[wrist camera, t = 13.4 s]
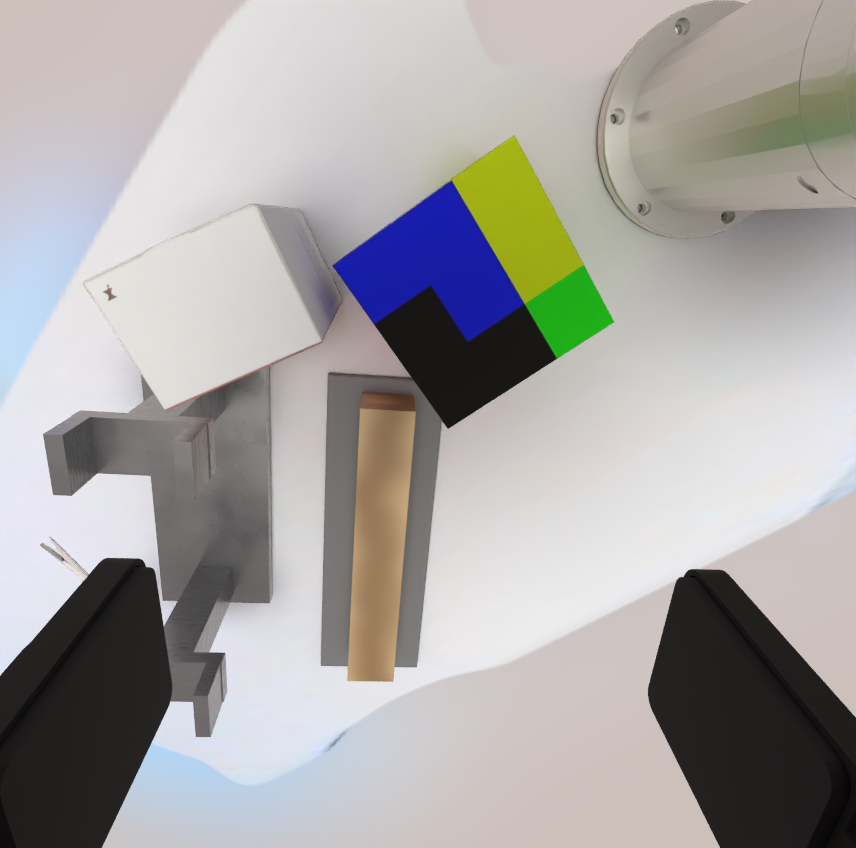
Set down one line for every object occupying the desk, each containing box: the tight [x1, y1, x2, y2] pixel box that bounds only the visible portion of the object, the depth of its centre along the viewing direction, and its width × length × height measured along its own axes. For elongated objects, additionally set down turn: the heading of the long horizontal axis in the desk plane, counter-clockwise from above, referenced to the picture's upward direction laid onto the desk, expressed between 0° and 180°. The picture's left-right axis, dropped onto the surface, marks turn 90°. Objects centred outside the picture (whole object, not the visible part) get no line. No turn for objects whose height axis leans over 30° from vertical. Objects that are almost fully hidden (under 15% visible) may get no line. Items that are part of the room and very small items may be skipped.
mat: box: [321, 373, 442, 667], centre depth 42 cm, size 8×25×1 cm, turn 175°
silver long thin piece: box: [40, 537, 88, 580], centre depth 43 cm, size 4×1×19 cm
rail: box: [347, 392, 416, 682], centre depth 40 cm, size 4×22×4 cm, turn 175°
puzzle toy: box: [333, 135, 614, 428], centre depth 31 cm, size 10×10×10 cm
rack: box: [43, 366, 272, 737], centre depth 34 cm, size 8×19×13 cm, turn 175°
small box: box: [83, 204, 342, 410], centre depth 29 cm, size 8×6×13 cm
